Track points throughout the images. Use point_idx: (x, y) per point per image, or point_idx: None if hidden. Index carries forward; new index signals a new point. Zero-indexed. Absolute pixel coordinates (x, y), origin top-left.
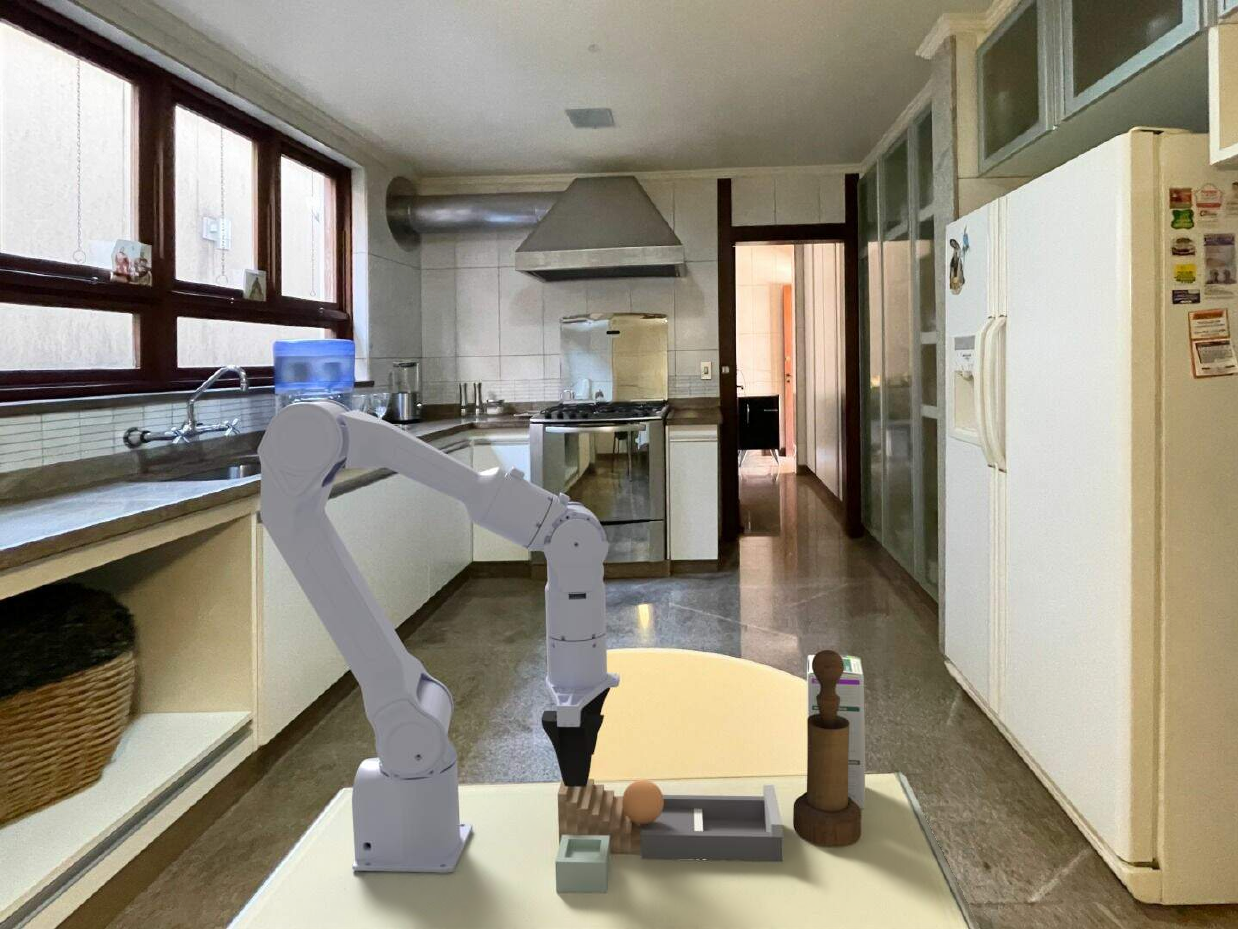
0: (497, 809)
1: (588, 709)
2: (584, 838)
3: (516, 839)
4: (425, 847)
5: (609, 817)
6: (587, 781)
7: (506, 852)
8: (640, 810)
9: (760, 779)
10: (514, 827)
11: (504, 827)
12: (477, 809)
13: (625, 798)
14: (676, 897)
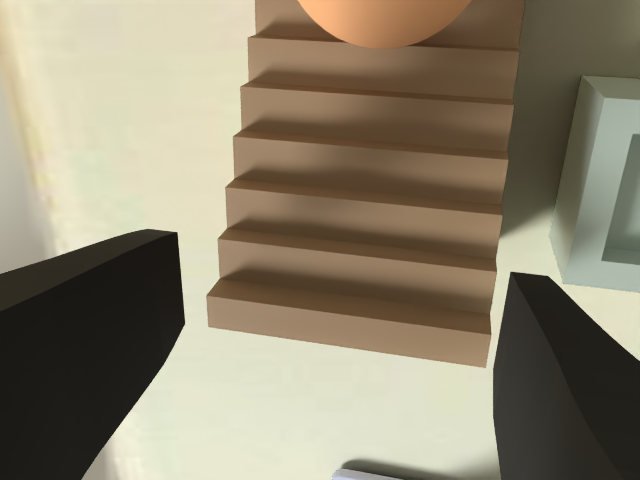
0: (229, 409)
1: (1, 415)
2: (607, 202)
3: (390, 363)
4: None
5: (480, 104)
6: (554, 283)
7: (460, 387)
8: None
9: None
10: (324, 368)
11: (324, 392)
12: (233, 452)
13: (423, 34)
14: None
